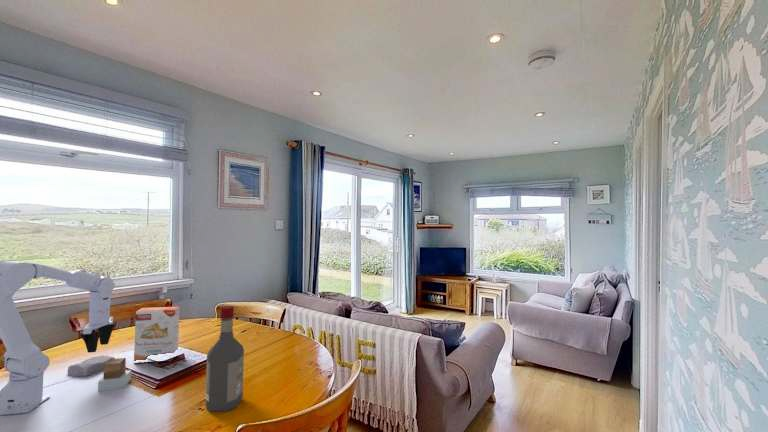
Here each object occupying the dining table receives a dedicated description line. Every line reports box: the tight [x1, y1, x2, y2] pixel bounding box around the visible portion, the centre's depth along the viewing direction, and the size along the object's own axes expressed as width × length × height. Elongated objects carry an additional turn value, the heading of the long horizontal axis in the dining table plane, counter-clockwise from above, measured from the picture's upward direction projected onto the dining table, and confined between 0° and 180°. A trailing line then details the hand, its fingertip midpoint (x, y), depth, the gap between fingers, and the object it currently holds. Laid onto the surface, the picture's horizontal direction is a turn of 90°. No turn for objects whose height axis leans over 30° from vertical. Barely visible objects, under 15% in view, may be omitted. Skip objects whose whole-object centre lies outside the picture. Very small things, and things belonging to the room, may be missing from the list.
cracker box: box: [133, 306, 180, 362], centre depth 138 cm, size 14×6×21 cm, turn 105°
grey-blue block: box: [97, 369, 132, 392], centre depth 117 cm, size 7×7×4 cm
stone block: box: [67, 354, 116, 377], centre depth 128 cm, size 12×5×10 cm
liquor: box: [204, 305, 245, 413], centre depth 106 cm, size 9×9×30 cm
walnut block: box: [103, 357, 127, 379], centre depth 117 cm, size 4×4×5 cm
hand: (98, 348), depth 122 cm, fingers open, 7 cm apart
